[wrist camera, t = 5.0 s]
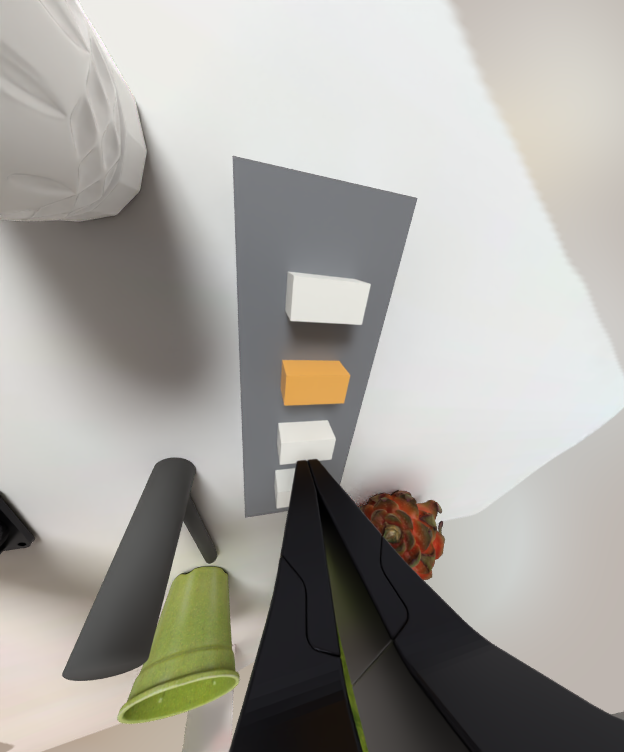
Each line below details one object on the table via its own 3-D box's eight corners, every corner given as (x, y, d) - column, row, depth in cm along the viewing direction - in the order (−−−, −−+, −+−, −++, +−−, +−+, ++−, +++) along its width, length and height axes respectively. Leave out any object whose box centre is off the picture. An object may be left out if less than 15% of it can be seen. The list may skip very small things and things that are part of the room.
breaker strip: (321, 463, 22) (341, 523, 17) (246, 471, 20) (244, 541, 15) (372, 211, 12) (446, 189, 8) (238, 184, 11) (228, 134, 6)
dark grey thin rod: (218, 550, 25) (217, 563, 24) (207, 553, 25) (205, 567, 24) (190, 488, 19) (186, 502, 18) (174, 491, 19) (170, 505, 18)
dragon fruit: (344, 474, 26) (400, 481, 33) (326, 556, 24) (390, 545, 31) (415, 506, 19) (467, 506, 26) (399, 624, 17) (459, 591, 24)
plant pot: (167, 557, 24) (129, 697, 16) (253, 556, 27) (254, 669, 20) (147, 600, 27) (108, 733, 19) (227, 594, 31) (219, 703, 23)
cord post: (197, 480, 19) (155, 664, 11) (157, 485, 19) (77, 686, 10) (193, 455, 18) (139, 644, 9) (149, 459, 17) (48, 668, 9)
